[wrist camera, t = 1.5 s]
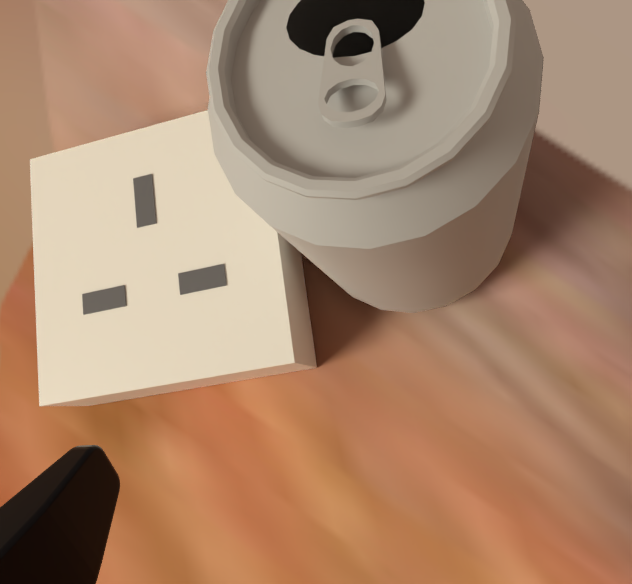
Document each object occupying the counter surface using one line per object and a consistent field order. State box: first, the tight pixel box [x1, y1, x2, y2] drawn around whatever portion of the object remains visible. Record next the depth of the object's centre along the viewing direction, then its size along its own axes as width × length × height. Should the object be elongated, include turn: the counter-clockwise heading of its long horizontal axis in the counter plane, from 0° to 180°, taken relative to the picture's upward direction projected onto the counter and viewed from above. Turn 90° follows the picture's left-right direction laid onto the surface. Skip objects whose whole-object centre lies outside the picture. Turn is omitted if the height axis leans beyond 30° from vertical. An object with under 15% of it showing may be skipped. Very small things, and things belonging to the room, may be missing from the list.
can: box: [206, 0, 543, 313], centre depth 17 cm, size 8×8×12 cm
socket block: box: [30, 110, 317, 406], centre depth 24 cm, size 10×10×3 cm
